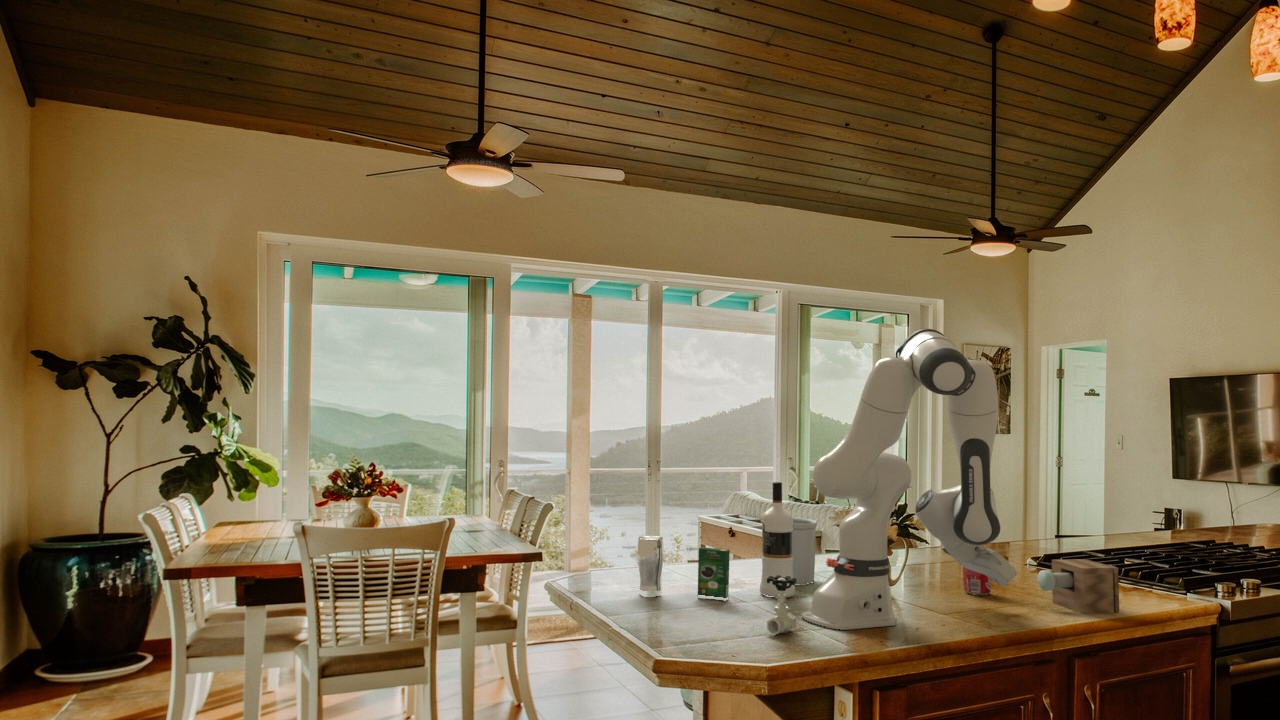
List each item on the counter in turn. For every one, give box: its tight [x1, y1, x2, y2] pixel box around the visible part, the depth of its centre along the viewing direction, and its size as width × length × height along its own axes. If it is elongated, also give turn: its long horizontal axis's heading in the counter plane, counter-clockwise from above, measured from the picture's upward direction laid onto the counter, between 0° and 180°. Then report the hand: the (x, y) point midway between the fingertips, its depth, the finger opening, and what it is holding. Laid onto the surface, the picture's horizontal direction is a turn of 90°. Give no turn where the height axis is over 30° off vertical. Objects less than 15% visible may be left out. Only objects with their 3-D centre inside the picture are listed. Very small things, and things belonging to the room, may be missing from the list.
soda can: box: [962, 566, 992, 596], centre depth 220 cm, size 7×7×12 cm
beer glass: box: [636, 535, 665, 592], centre depth 214 cm, size 7×7×15 cm
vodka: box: [759, 481, 796, 598], centre depth 216 cm, size 9×9×30 cm
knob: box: [1037, 569, 1074, 592], centre depth 204 cm, size 10×5×5 cm, turn 98°
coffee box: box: [697, 546, 730, 598], centre depth 210 cm, size 8×3×13 cm, turn 67°
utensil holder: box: [792, 516, 818, 584], centre depth 235 cm, size 15×15×18 cm
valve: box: [766, 575, 797, 635], centre depth 178 cm, size 7×7×12 cm
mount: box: [1051, 558, 1120, 615], centre depth 205 cm, size 10×12×11 cm
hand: (1003, 583), depth 201 cm, fingers closed
